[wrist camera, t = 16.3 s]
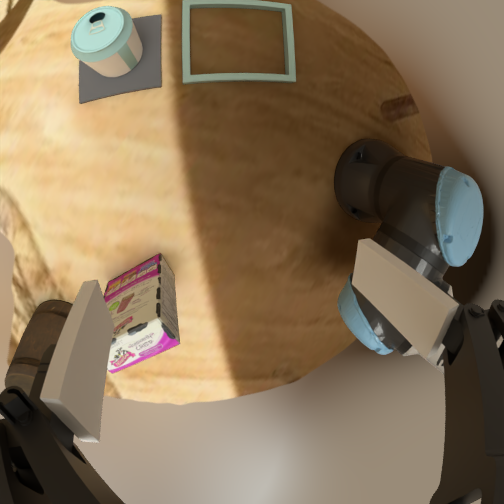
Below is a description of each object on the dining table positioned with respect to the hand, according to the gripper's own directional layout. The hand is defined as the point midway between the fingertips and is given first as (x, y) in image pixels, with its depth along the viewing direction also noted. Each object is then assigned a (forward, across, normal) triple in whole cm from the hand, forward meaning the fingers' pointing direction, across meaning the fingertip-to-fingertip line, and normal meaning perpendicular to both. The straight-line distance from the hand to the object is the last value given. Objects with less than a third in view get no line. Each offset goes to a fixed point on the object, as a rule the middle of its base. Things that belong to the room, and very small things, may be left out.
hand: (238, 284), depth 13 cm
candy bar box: (+29, -11, -15) cm, 34 cm away
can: (+28, -10, +20) cm, 36 cm away
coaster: (+29, -10, +20) cm, 36 cm away
